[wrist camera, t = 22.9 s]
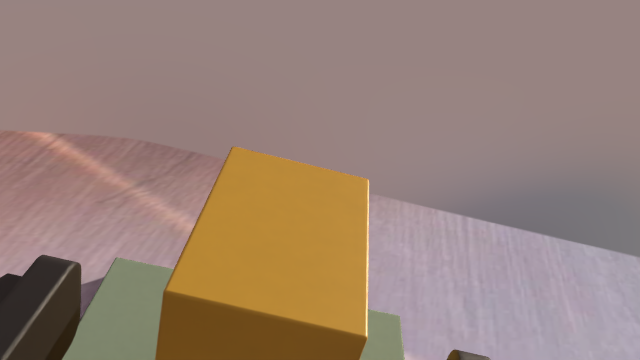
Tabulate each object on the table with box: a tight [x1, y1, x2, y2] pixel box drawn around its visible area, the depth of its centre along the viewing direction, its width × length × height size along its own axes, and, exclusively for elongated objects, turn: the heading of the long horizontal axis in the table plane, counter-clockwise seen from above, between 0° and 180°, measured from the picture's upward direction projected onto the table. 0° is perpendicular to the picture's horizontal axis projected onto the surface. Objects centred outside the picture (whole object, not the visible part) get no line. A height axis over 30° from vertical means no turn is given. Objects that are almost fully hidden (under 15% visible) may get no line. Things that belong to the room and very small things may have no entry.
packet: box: [155, 147, 369, 360], centre depth 18 cm, size 4×7×10 cm, turn 175°
